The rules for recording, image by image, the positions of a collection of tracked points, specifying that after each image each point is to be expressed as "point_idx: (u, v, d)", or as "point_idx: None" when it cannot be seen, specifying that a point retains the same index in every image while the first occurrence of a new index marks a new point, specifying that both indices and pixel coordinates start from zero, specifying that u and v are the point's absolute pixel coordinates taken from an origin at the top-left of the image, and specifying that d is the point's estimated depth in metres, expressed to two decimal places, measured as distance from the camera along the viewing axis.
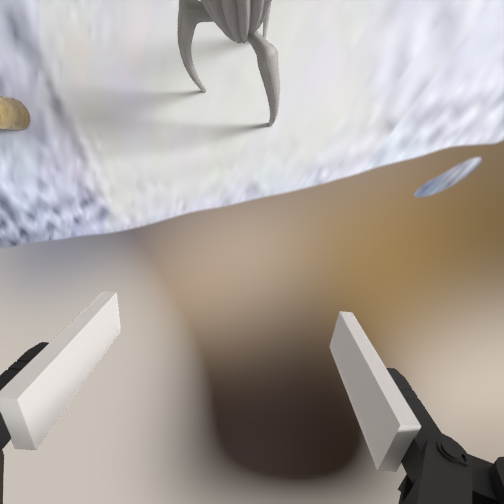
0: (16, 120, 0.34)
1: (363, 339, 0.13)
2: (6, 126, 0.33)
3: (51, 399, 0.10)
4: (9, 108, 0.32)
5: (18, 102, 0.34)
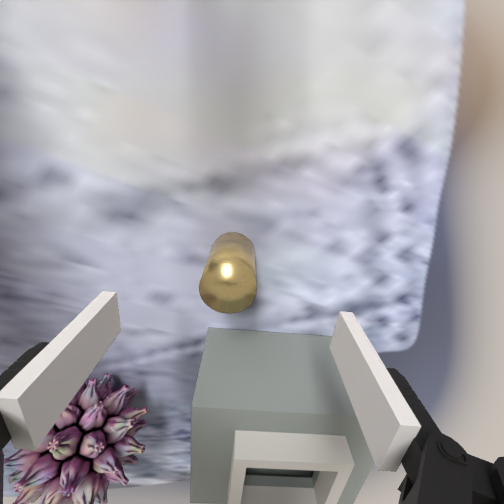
0: (242, 244, 0.21)
1: (363, 339, 0.13)
2: (252, 258, 0.20)
3: (51, 399, 0.10)
4: (225, 244, 0.20)
5: (217, 240, 0.22)
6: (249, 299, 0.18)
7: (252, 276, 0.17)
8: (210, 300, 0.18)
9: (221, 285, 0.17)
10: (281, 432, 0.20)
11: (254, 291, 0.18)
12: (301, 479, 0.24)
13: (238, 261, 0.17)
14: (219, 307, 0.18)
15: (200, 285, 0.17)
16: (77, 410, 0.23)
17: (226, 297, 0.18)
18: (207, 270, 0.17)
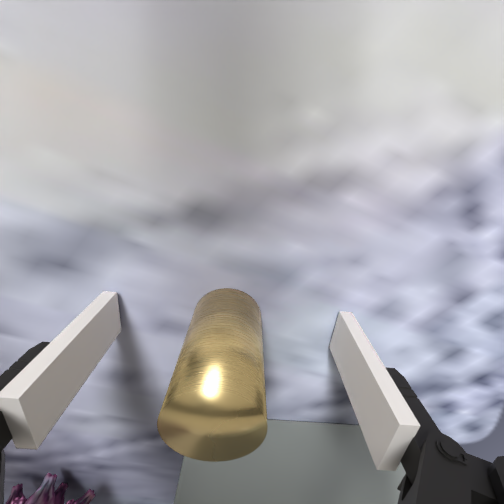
0: (242, 316, 0.12)
1: (363, 339, 0.13)
2: (259, 343, 0.12)
3: (52, 399, 0.10)
4: (212, 321, 0.12)
5: (201, 301, 0.14)
6: (253, 442, 0.09)
7: (259, 407, 0.09)
8: (180, 444, 0.09)
9: (200, 423, 0.09)
10: None
11: (263, 431, 0.09)
12: None
13: (232, 373, 0.09)
14: (197, 453, 0.10)
15: (159, 422, 0.09)
16: None
17: (210, 439, 0.09)
18: (171, 397, 0.09)
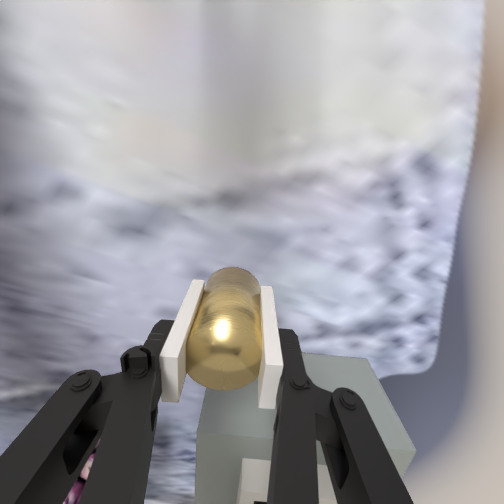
0: (244, 286, 0.16)
1: (270, 306, 0.14)
2: (258, 306, 0.15)
3: (184, 363, 0.12)
4: (221, 288, 0.15)
5: (212, 277, 0.17)
6: (252, 373, 0.13)
7: (257, 343, 0.12)
8: (198, 374, 0.13)
9: (213, 355, 0.12)
10: None
11: (260, 363, 0.12)
12: None
13: (237, 320, 0.12)
14: (211, 382, 0.13)
15: None
16: None
17: (221, 370, 0.13)
18: (193, 335, 0.12)
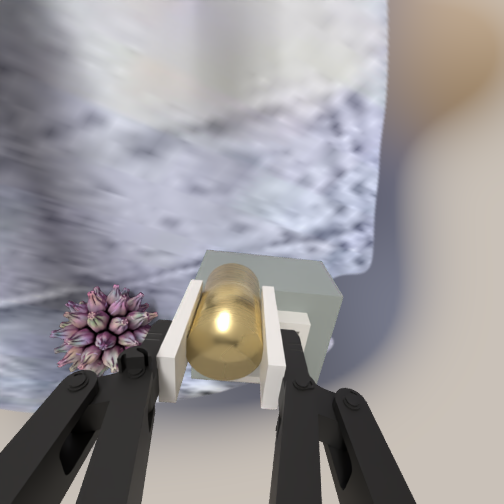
0: (244, 281, 0.16)
1: (272, 306, 0.14)
2: (257, 300, 0.16)
3: (181, 363, 0.12)
4: (222, 283, 0.15)
5: (212, 273, 0.18)
6: (252, 363, 0.13)
7: (257, 334, 0.13)
8: (200, 365, 0.13)
9: (215, 346, 0.13)
10: None
11: (260, 353, 0.13)
12: None
13: (238, 312, 0.13)
14: (213, 373, 0.13)
15: (186, 346, 0.13)
16: (106, 303, 0.31)
17: (222, 361, 0.13)
18: (196, 327, 0.12)
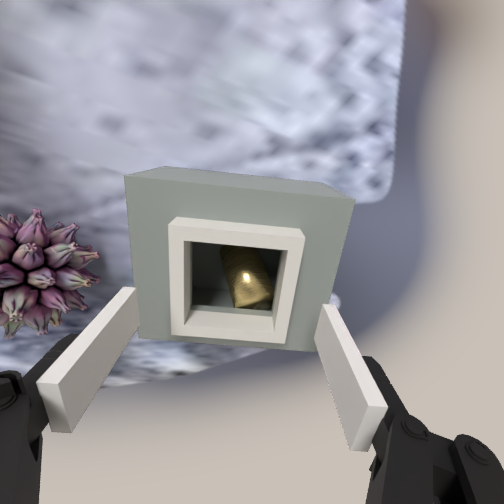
0: (254, 254, 0.24)
1: (342, 329, 0.13)
2: (264, 265, 0.24)
3: (84, 386, 0.10)
4: (242, 261, 0.23)
5: (226, 247, 0.25)
6: (270, 305, 0.24)
7: None
8: None
9: (251, 304, 0.22)
10: (228, 221, 0.18)
11: None
12: (259, 311, 0.22)
13: (263, 286, 0.22)
14: None
15: None
16: (16, 229, 0.22)
17: (254, 308, 0.23)
18: (242, 299, 0.21)
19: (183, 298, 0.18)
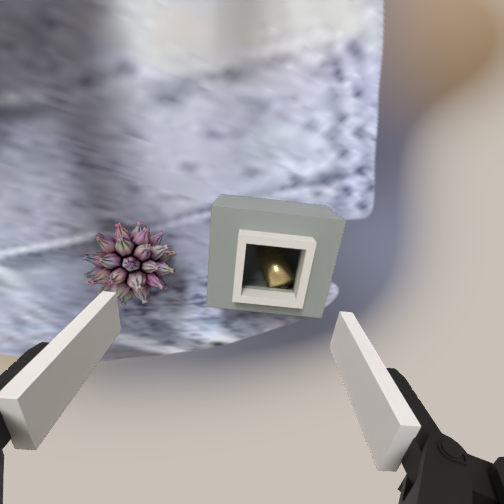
0: (280, 253, 0.36)
1: (363, 339, 0.13)
2: None
3: (51, 399, 0.10)
4: (273, 258, 0.35)
5: (261, 248, 0.37)
6: (291, 287, 0.36)
7: None
8: None
9: (279, 285, 0.35)
10: (270, 232, 0.30)
11: None
12: (285, 289, 0.34)
13: (287, 273, 0.34)
14: None
15: (270, 287, 0.34)
16: (130, 235, 0.34)
17: (281, 288, 0.35)
18: (274, 281, 0.34)
19: (242, 278, 0.31)
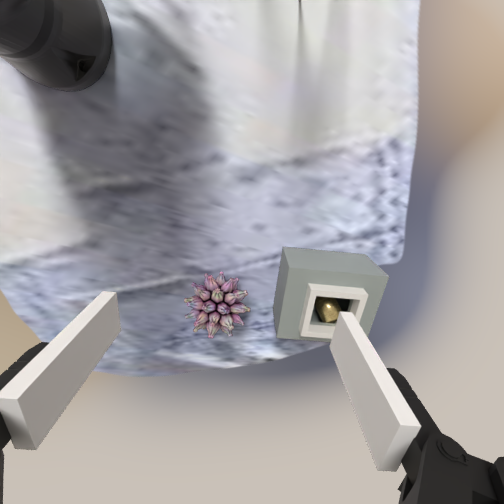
0: None
1: (363, 339, 0.13)
2: (336, 300, 0.47)
3: (51, 399, 0.10)
4: (327, 298, 0.45)
5: None
6: None
7: None
8: None
9: (333, 320, 0.45)
10: (331, 285, 0.40)
11: None
12: None
13: (339, 311, 0.44)
14: None
15: (326, 322, 0.44)
16: (218, 284, 0.44)
17: (332, 322, 0.45)
18: (330, 319, 0.44)
19: (310, 319, 0.41)
